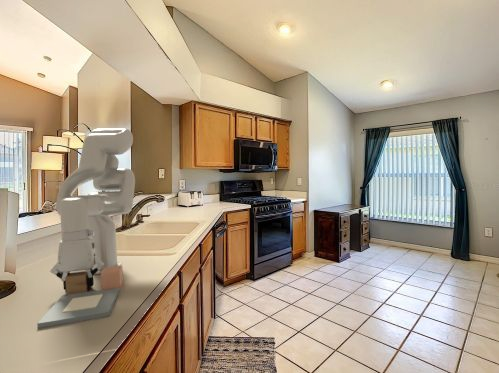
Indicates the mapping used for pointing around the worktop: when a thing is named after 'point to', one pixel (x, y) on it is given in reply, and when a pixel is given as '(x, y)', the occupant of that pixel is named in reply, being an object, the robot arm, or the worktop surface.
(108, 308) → the baseplate
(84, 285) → the walnut block
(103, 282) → the terracotta block
